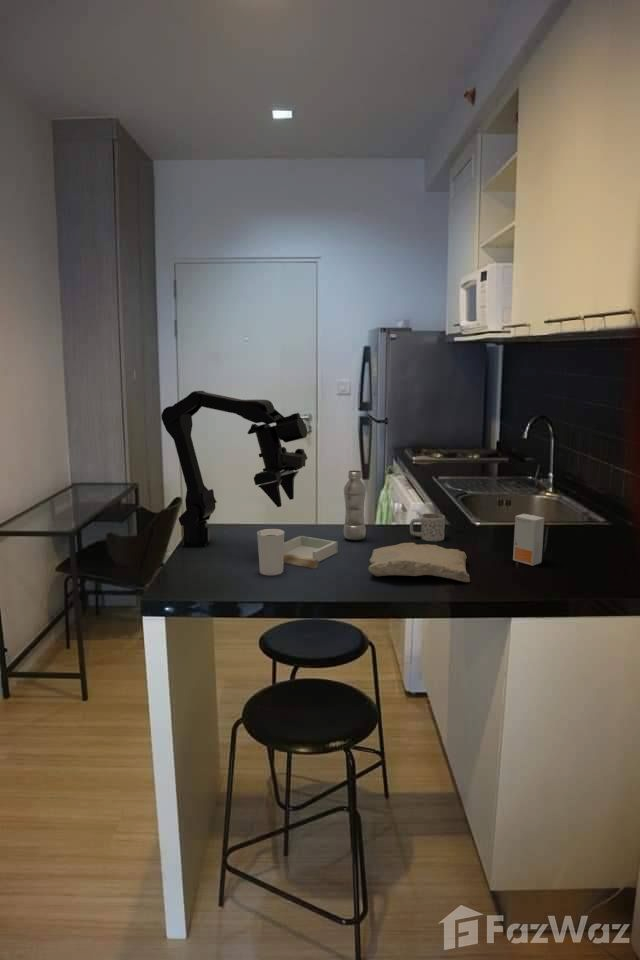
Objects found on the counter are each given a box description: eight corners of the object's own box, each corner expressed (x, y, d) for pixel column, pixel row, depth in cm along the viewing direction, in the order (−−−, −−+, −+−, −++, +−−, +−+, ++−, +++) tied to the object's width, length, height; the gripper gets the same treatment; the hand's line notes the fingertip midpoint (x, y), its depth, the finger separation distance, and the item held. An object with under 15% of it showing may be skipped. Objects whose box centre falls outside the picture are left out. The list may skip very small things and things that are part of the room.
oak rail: (263, 558, 175) (262, 551, 175) (266, 557, 176) (266, 549, 176) (314, 568, 167) (314, 561, 166) (317, 567, 168) (317, 559, 168)
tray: (313, 564, 170) (313, 553, 170) (275, 557, 176) (275, 546, 176) (337, 552, 180) (337, 541, 180) (300, 546, 186) (300, 535, 186)
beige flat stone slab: (470, 593, 153) (467, 559, 172) (470, 562, 150) (467, 531, 169) (364, 590, 157) (372, 557, 176) (363, 561, 155) (371, 531, 174)
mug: (442, 535, 197) (442, 513, 196) (445, 541, 190) (446, 518, 189) (408, 535, 197) (408, 513, 196) (410, 541, 191) (411, 518, 189)
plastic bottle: (366, 536, 196) (366, 469, 192) (365, 543, 189) (365, 473, 185) (344, 536, 196) (344, 469, 192) (342, 542, 190) (342, 473, 186)
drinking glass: (284, 575, 162) (283, 536, 160) (256, 576, 162) (255, 536, 160) (285, 567, 168) (285, 528, 166) (259, 567, 168) (258, 529, 166)
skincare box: (512, 560, 172) (514, 515, 170) (521, 557, 175) (524, 513, 173) (532, 566, 168) (535, 520, 166) (542, 562, 170) (545, 517, 168)
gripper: (285, 444, 165) (301, 504, 167) (309, 435, 183) (323, 490, 184) (245, 454, 169) (262, 513, 171) (273, 444, 187) (287, 498, 188)
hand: (285, 503), depth 178 cm, fingers open, 9 cm apart
